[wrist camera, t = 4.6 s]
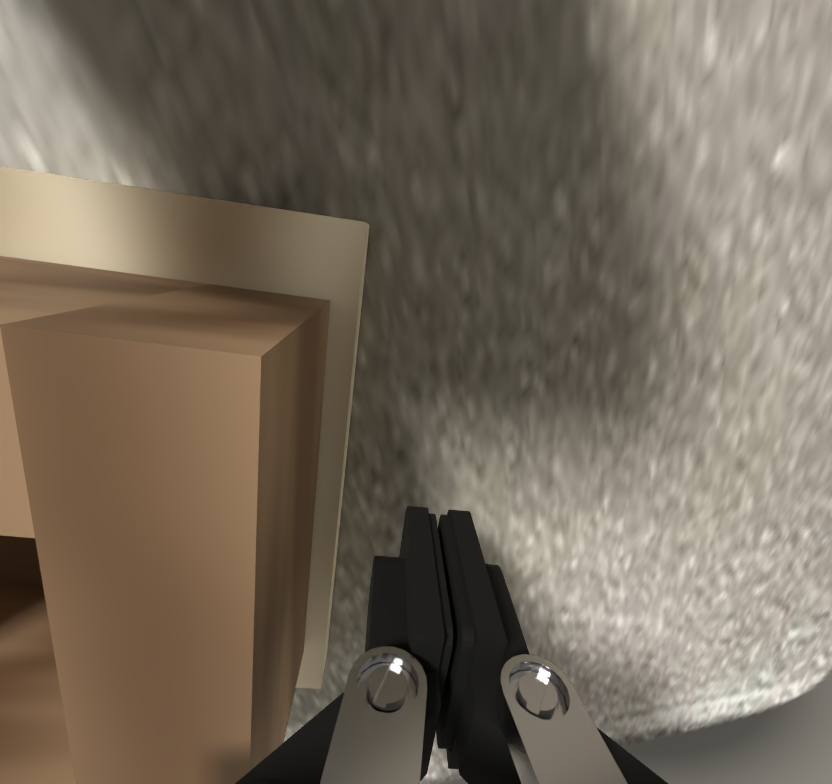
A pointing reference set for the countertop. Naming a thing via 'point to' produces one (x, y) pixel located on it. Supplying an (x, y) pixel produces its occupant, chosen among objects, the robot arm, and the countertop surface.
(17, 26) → the countertop surface
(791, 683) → the countertop surface
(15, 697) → the block
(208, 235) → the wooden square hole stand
